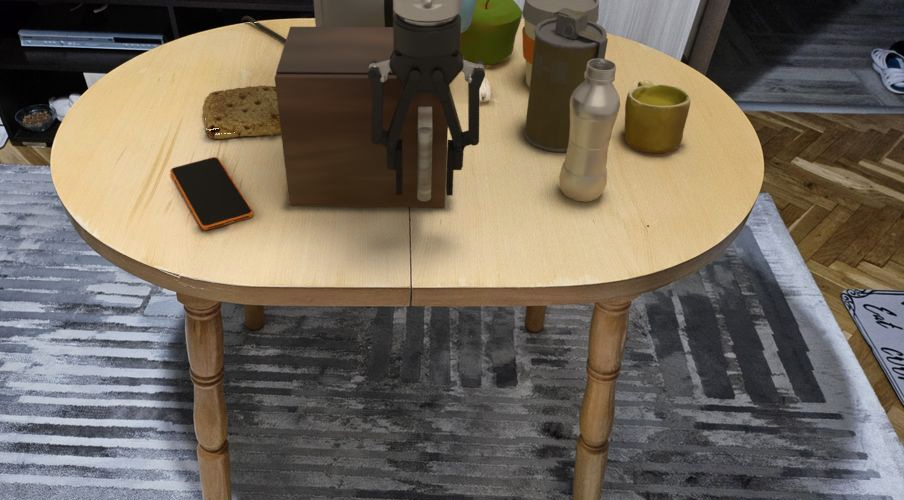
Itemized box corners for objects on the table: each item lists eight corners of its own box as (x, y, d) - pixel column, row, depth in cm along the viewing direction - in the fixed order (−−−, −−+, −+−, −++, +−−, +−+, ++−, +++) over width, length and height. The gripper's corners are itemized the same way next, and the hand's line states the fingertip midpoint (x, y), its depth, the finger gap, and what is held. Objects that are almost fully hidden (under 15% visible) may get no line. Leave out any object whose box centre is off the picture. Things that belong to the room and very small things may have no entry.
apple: (508, 42, 155) (513, -17, 148) (524, 70, 146) (530, 9, 139) (444, 46, 154) (446, -13, 147) (456, 74, 145) (459, 13, 138)
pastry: (174, 124, 132) (170, 107, 130) (246, 83, 143) (243, 67, 141) (253, 155, 125) (250, 138, 123) (323, 109, 135) (321, 93, 133)
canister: (510, 136, 129) (521, 14, 116) (548, 112, 134) (563, -7, 121) (567, 161, 123) (586, 35, 110) (604, 135, 129) (626, 13, 116)
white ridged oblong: (475, 106, 136) (475, 91, 134) (469, 84, 142) (469, 70, 140) (493, 106, 136) (494, 91, 134) (486, 84, 142) (487, 69, 140)
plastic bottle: (593, 212, 113) (618, 80, 100) (549, 198, 116) (567, 68, 103) (610, 190, 117) (636, 61, 104) (567, 176, 120) (586, 49, 107)
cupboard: (444, 203, 115) (449, 73, 102) (290, 201, 115) (275, 71, 102) (443, 151, 125) (447, 27, 112) (302, 150, 126) (290, 26, 113)
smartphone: (203, 232, 109) (202, 227, 109) (169, 173, 121) (168, 168, 120) (256, 216, 112) (255, 211, 111) (218, 160, 123) (217, 155, 123)
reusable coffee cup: (579, 66, 147) (592, -16, 138) (594, 99, 138) (608, 13, 128) (511, 67, 147) (518, -15, 137) (521, 100, 138) (529, 14, 128)
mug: (700, 152, 121) (691, 88, 117) (630, 167, 124) (619, 105, 120) (689, 126, 132) (680, 67, 127) (625, 140, 134) (614, 82, 130)
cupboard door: (445, 237, 108) (450, 105, 96) (282, 235, 109) (265, 103, 96) (444, 203, 114) (449, 75, 102) (290, 201, 115) (275, 73, 102)
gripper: (339, 26, 86) (349, 205, 101) (515, 27, 85) (499, 206, 101) (344, -1, 91) (353, 172, 107) (509, 0, 91) (495, 173, 106)
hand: (424, 188), depth 104 cm, fingers open, 6 cm apart
